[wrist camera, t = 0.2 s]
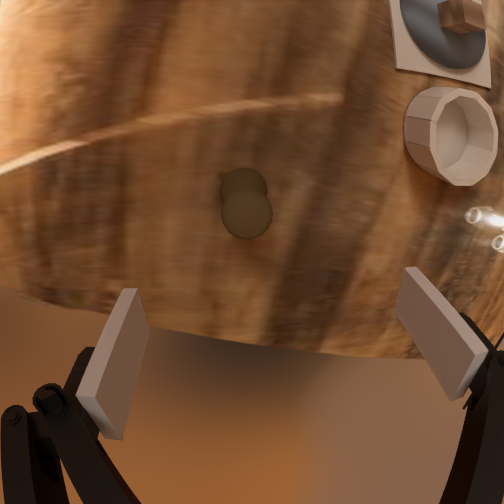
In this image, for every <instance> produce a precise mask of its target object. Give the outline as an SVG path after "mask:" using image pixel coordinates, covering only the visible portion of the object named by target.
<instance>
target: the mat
mask: <svg viewBox="0 0 504 504" xmlns="http://www.w3.org/2000/svg"><path fill="white" fill-rule="evenodd" d="M472 1H474V2H476V3H478V4H481V5H482V3H481V0H472ZM388 5H389V13H390V20H391V29H392V38H393V49H394V62H395V68H396V69H403V70H410V71H416V72H421V73H427V74H432V75H437V76H442V77H447V78H451V79H456V80H460V81H464V82H468V83H472V84H476V85H479V86H483V87H487V88H491V74H490V60H489V49H488V41H487V33H486V30H485V33H486V45H485V50H484V54H483V56H482V58H481V59H480V61H479V62H478V63H477V64H476V65H474V66H473V67H470V68H466V69H451V68H447V67H444V66H442V65H440V64H438V63H436V62H435V61H433V60H432V59H431V58H429V57H428V56H427V55H426V54H425V53H424V52H423V51H422V50H421V49H420V48H419V47H418V46H417V44H416V43H415V42H414V40H413V39H412V37H411V36H410V34H409V32H408V30H407V28H406V26H405V24H404V21H403V18H402V15H401V11H400V0H388ZM483 14H484V13H483ZM484 20H485V19H484Z"/></svg>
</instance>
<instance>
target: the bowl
mask: <svg viewBox="0 0 504 504" xmlns="http://www.w3.org/2000/svg"><path fill="white" fill-rule="evenodd" d="M497 130H498V128H497V125H496V121H495V118H494V115H493V112H492V109H491V107H490V106H489V105H488V104H487V103H486V102H485V101H484V99H483V98H482V97H481V96H480V95H479V94H478V93H477V92H474V91H470V90H466V89H462V88H451V87H432V88H429V89H425V90H423V91H421V92H419V93H418V94H416V95H415V96H414V97H413V99H412V100H411V101H410V103H409V104H408V106H407V109H406V111H405V115H404V119H403V137H404V142H405V146H406V148H407V151H408V153H409V155H410V156H411V158H412V159H413V161H414V162H415V163H416V164H417V165H418V166H419V167H421V168H422V169H424V170H426V171H427V172H429V173H430V174H432V175H434V176H436V177H438V178H440V179H442V180H444V181H447V182H449V183H451V184H453V185H455V186H472V185H474V184H475V183H477V182H478V181H479V180H481V179H482V178H483V177H485V176H486V175H487V174H488V172H489V170H490V168H491V166H492V164H493V162H494V160H495V157H496V154H497V145H498V131H497Z"/></svg>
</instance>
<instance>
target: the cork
mask: <svg viewBox="0 0 504 504" xmlns="http://www.w3.org/2000/svg"><path fill="white" fill-rule="evenodd" d="M220 193H221V197H222V200H223V203H224V205H223V207H222V221H223V224H224V226H225V227H226V229H227V230H228V232H229V233H231V234H232V235H233V236H235V237H237V238H240V239H253V238H257V237H259V236H260V235H262V234H263V233H264V232H265V231H266V230H267V229H268V228H269V226H270V224H271V221H272V215H273V213H272V208H271V204H270V203H269V201H268V199H267V198H266V194H267V187H266V182H265V181H264V179H263V177H262V176H261V175H260V174H259V173H258V172H257V171H254V170H252V169H249V168H240V169H235V170H233V171H232V172H230V173H228V174H227V176H226V177H225V178H224V179H223V182H222V184H221V190H220Z"/></svg>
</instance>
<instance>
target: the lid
mask: <svg viewBox="0 0 504 504" xmlns="http://www.w3.org/2000/svg"><path fill="white" fill-rule="evenodd" d="M400 11H401V15H402V18H403V21H404V24H405V26H406V28H407V30H408V32H409V34H410V36H411V37H412V39H413V40H414V42H415V43H416V44H417V46H418V47H419V48H420V49H421V50H422V51H423V52H424V53H425V54H426V55H427V56H428V57H429V58H431V59H432V60H433V61H435V62H436V63H438V64H440V65H442V66H444V67H447V68H451V69H466V68H470V67H473V66H474V65H476V64H477V63H478V62H479V61H480V59H481V58H482V56H483V54H484V50H485V45H486V33H485V30H486V26H485V20H484V14H483V8H482V5H481V4H478V3H476V2H474V1H472V0H400Z"/></svg>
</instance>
